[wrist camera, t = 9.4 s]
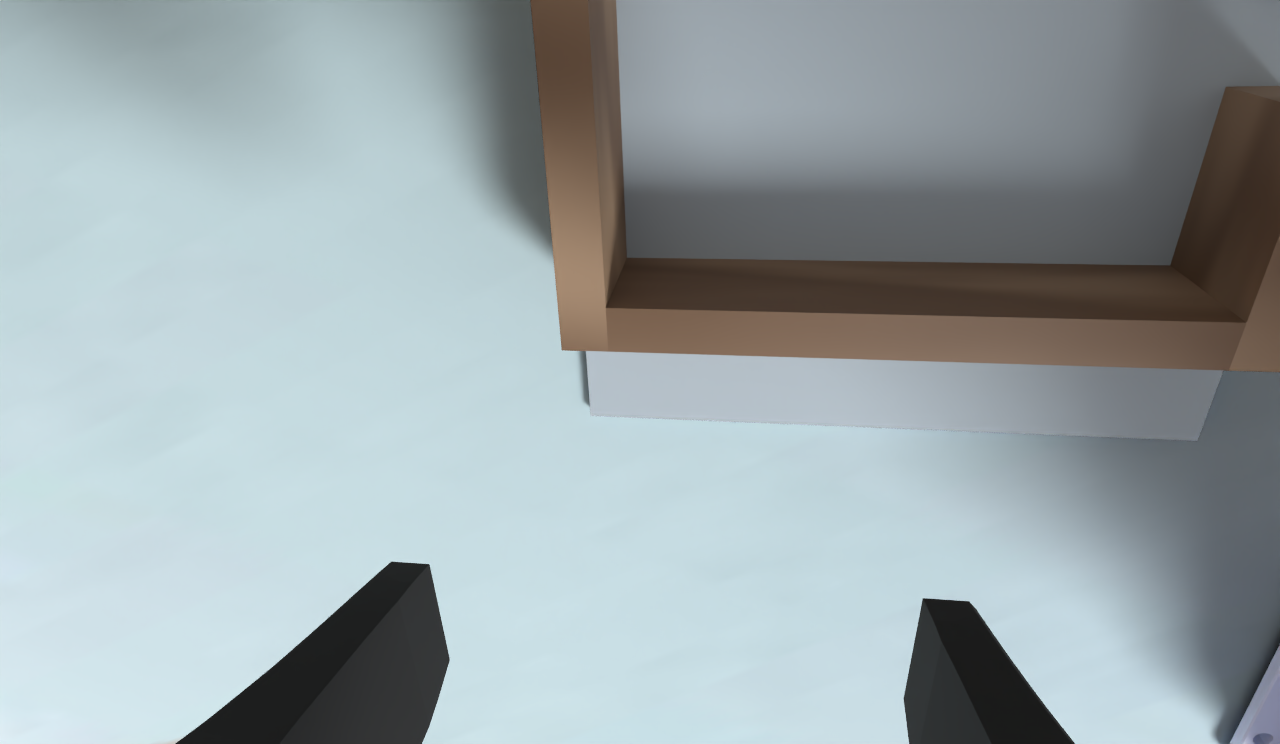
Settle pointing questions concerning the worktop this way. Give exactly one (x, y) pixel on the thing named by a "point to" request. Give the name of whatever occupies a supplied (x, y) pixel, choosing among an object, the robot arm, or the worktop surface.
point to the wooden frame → (903, 291)
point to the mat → (921, 182)
